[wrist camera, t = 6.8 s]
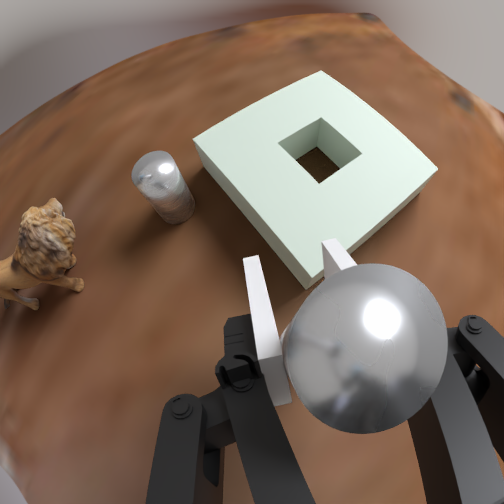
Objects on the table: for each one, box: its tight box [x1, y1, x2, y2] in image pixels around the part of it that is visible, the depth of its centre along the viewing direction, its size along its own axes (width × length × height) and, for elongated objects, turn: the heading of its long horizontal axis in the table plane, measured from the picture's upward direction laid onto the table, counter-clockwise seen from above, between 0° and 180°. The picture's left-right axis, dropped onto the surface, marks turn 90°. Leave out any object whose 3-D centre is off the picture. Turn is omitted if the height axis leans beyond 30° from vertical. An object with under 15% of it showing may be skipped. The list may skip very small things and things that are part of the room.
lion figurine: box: [0, 198, 84, 310], centre depth 20 cm, size 15×5×9 cm, turn 116°
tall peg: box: [279, 263, 448, 434], centre depth 11 cm, size 3×3×14 cm
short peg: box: [132, 151, 195, 224], centre depth 22 cm, size 3×3×6 cm
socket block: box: [193, 71, 438, 290], centre depth 23 cm, size 14×14×4 cm
